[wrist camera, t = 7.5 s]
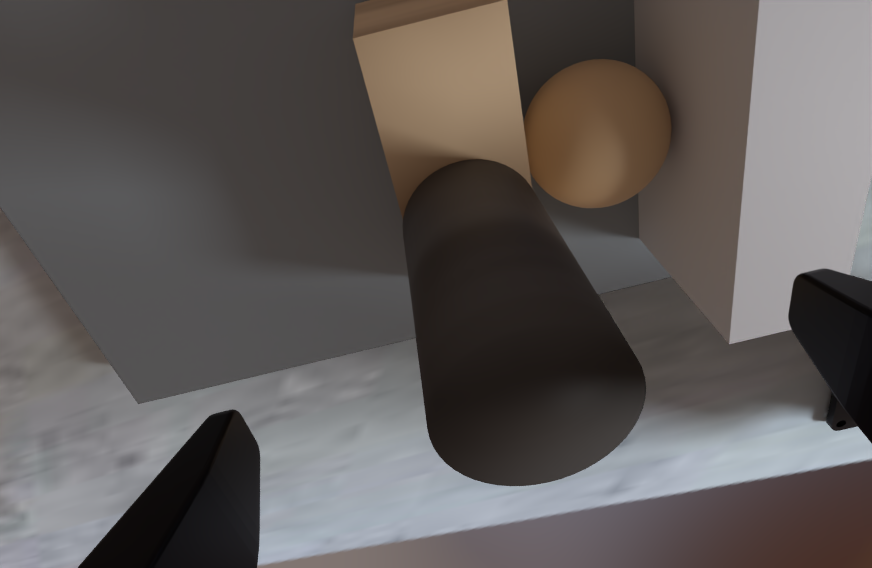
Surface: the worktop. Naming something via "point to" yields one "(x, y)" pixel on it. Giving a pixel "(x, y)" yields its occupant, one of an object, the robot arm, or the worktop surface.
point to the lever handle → (488, 254)
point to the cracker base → (370, 177)
